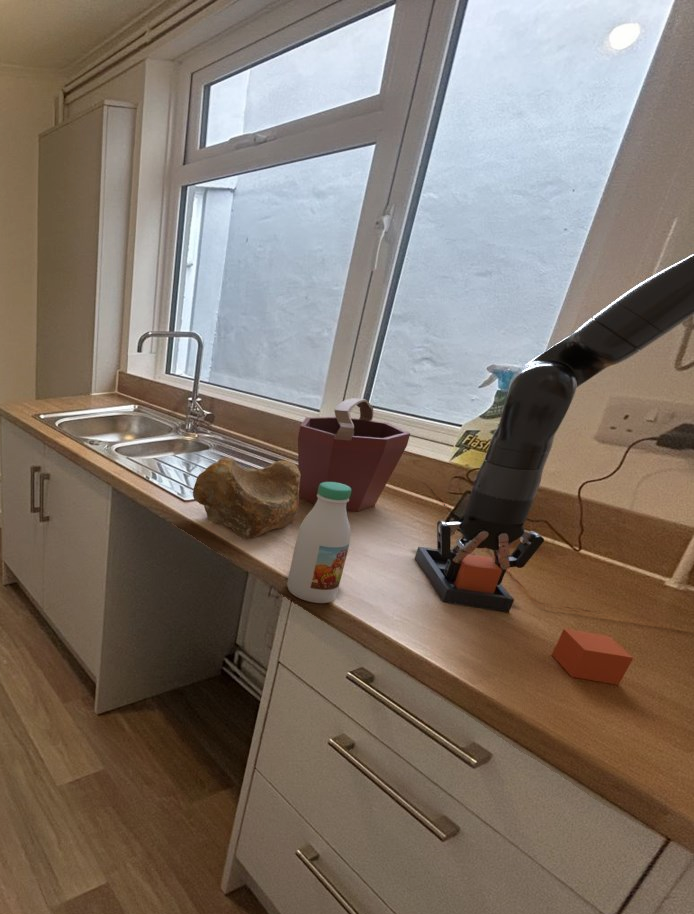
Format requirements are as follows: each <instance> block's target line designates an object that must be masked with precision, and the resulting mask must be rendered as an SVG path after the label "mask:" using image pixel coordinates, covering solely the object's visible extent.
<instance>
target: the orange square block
mask: <svg viewBox="0 0 694 914" xmlns="http://www.w3.org/2000/svg"><path fill="white" fill-rule="evenodd" d="M470 554H471V553H470ZM470 554H468V555H467V556H466V557H465V558H464V559H463V560H462V561H461V562H460V563H461V566H460V569H459V572H458V575H457V578H456V580H455V582H453V584H454V585H455V586H456V588H458V589H464V590H471V591H477V592H484V593H491V594H493V593H494V591H495V588H496V586H497V583H498V580H499V578H500V575H501V573H502V570H501V569H500V567H499V566H498V565H497V564H496V563H495V560H494V559H492V558H491V556H484V555H476V554H475V555H470Z"/></svg>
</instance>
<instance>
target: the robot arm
mask: <svg viewBox="0 0 694 914" xmlns="http://www.w3.org/2000/svg"><path fill="white" fill-rule="evenodd" d="M693 316H694V253H692V254H691V255H689V256H688V257H686V258H684V259H681V260H679V261H678V262H676V263H674V264H672V265H671V266H669V267H666V268H665V269H663V270H661V271H659V272H657V273H655V274H653V275H652V276H650V277H648V278H647V279H645V280H643V281H642V282H640V283H638V284H636V285H635V286H633V287H632V288H630V289H629V290H628V291H626V292H625V293H623V294H622V295H620V296H619V297H618V298H616V299H615V300H614V301H612V302H611V303H610V304H608V305H606V307H604V308H603V309H601V310H600V311H599V312H597V313H596V314H595V315H593V316H592V317H590V318H589V319H588V320H587V321H585V323H583V324H581V326H580V327H578V328H577V329H576V330H575V331H574V332H572V333H571V334H570V335H568V336H567V337H565V338H564V339H562V340H560V341H559V342H557V343H555V344H554V345H552V346H551V347H549V348H548V349H546V350H545V351H543V352H542V353H540V354H538V355H537V356H535V357H534V358H533V359H531V360H530V361H528V362H527V363H526V364H524V365H523V366H522V367H520V368H519V369H518V370H517V371H515V373H514V374H513V376H512V377H511V379H510V381H509V383H508V384H509V385H508V390H507V395H506V398H505V402H504V405H503V408H502V412H501V417H500V419H499V424H498V427H497V428H496V429H495V430H494V433H493V434H492V436H491V439H490V441H489V444H488V446H487V450H486V453H485V457H484V459H483V461H482V463H481V465H480V467H479V469H478V471H477V474H476V477H475V478H474V480H473V484H472V489H471V490H470V494H469V497H468V501H467V503H466V506H465V509H464V514H463V516H462V517H460V518H459V519H458V520H457V521H449V522H446V521H445V520H442V519H441V520H438V521H437V522H436V536H437V537H436V539H437V540H436V543H437V544H436V549H437V550H438V551H439V553H440V554H441V555H442V557H444V558H448V561H447V563H446V566H445V569H444V574H445V575H446V577H447V578H448V580H449V581H452V582H455V580H456V578H457V575H458V572H459V569H460V566H461V563H460V562H461V561H462V560H463V559H464V558H465V557H466V556H467V555H468V554H473V552H474V551H475V550H476V549H488V550H491V551H492V553H493V561H494V562H495V563H496V564H497V565H498V566H499V567H500V569H501V570H502V573H501V575H500V578H499V580H498V583H497V585H499V584H501V585H502V583H503V579H504V577H505V575H506V572H507V570H508V569H511V568H517V569H523V568H524V567H525V566H526V564H527V563H528V562H529V561H530V560H531V558H532V557H533V556H534V555H535V553H536V552H537V551H538V549H539V548H540V547H541V546H542V544H544V542H545V538H544V537H543V536H542V535H541V534H540V533H539V532H537V531H535V530H530V531H529V530H526V529H525V528H524V525H525V522H526V521H527V518H528V515H529V513H530V511H531V508H532V506H533V503H534V500H535V497H536V495H537V493H538V490H539V488H540V485H541V482H542V477H543V471H544V468H545V466H546V463H547V461H548V458H549V455H550V453H551V451H552V448H553V445H554V439H555V436H556V434H557V431H558V430H559V428H560V426H561V425H562V422H563V420H564V419H565V417H566V415H567V413H568V411H569V409H570V407H571V404H572V402H573V399H574V397H575V394H576V391H577V388H579V387H580V386H581V385H583V384H584V383H586V382H588V381H589V380H591V379H592V378H593V377H595V376H596V375H598V374H599V373H601V372H602V371H604V370H605V369H607V368H609V367H611V366H614V365H618V364H620V363H622V362H624V361H626V360H628V359H630V358H631V357H633V356H634V355H636V354H638V353H639V352H640V351H643V350H644V349H645V348H647V347H648V346H650V345H651V344H653V343H655V342H656V341H657V340H659V339H660V338H662V337H663V336H665V335H667V334H668V333H669V332H671V331H672V330H673V329H675V328H677V327H678V326H680V325H681V324H682V323H685V322H686V321H688V320H689V319H690V318H692V317H693ZM457 530H459V531H460V533H461V536H460V537H459V538H458V539H457V540H456V542H455V545H454V546H453V547H452V548H451V546H452V545H451V543H452V542H451V537H452V536H454V535H455V533H456V531H457ZM518 539H519V541H520V542H519V544H518V545H517V546H516V548H515V549H514V550H513V552H512V553H511V554H510V546H509V545H510V544H512V543H513V542H515V541H516V540H518Z"/></svg>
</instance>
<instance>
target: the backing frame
mask: <svg viewBox="0 0 694 914" xmlns="http://www.w3.org/2000/svg"><path fill="white" fill-rule="evenodd" d="M470 555H476V554H475V553H470ZM414 559H415V561H416V562H417V563H418V565H419V567H420V569H421V570H422V572H423V573H424V574H425V576H426V578H427V579H428V580H429V583H430V584H431V585H432V587H433V588H434V590H435V592H436V594H437V595H438V597H439V598H440V600H441V602H443V603H449V604H454V605H459V606H460V605H461V606H465V607H471V608H479V609H485V610H490V611H491V610H492V611H497V612H502V613H503V612H504V613H510V611H511V608H512V606H513V605H514V602H515V599H514V597H513V596H512V595H511V594H510V593H509V592H508V591H507V590H506V588H505V587H504V586H503V585H502V583H501V584H499V585H497V586H496V588H495V591H494V593H493V594H491V593H484V592H477V591H471V590H464V589H458V588H456V586H455V585H454V584H453V582H452V581H449V580H448V578H447V577H446V575H445V574H444V569H445V566H446V563H447V561H448V558H444V557H442V555H441V554H440V553H439V551H438V550H437V548H431V547H424V546H418V547H417V550H416V553H415V556H414Z"/></svg>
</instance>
